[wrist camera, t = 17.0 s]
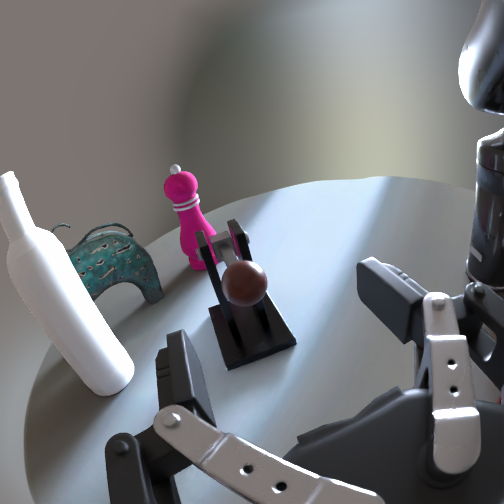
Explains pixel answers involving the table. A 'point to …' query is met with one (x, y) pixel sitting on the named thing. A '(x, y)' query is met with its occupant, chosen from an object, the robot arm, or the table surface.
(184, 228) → the pepper mill
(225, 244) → the press lever
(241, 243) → the lever bracket
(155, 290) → the ceramic cat
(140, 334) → the table surface
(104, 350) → the bottle
